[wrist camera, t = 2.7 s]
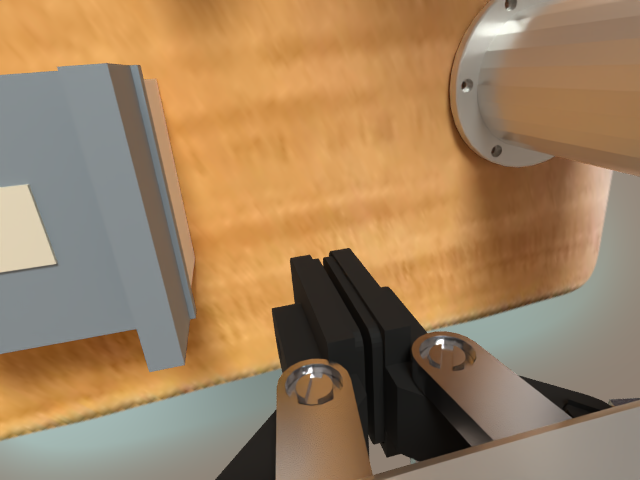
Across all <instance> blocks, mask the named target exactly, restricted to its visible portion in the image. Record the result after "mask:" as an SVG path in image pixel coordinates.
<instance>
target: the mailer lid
mask: <svg viewBox="0 0 640 480" xmlns="http://www.w3.org/2000/svg"><path fill="white" fill-rule="evenodd" d="M57 68H58V71H49V72H36V73H22V74H9V75H0V354H3V353H8V352H14V351H19V350H25V349H30V348H36V347H41V346H47V345H52V344H58V343H63V342H68V341H74V340H79V339H85V338H90V337H96V336H101V335H107V334H112V333H118V332H123V331H129V330H134V329H137V333H138V336H139V339H140V342H141V346H142V349H143V352H144V356H145V359H146V362H147V366H148V369H149V372H152V371H157V370H162V369H167V368H172V367H177V366H182V365H185V358H186V350H187V342H188V333H189V325H190V319H194V318H196V307H195V302H194V298H193V294H192V289H191V285H190V280H189V276H188V272H187V267H186V263H185V259H184V254H183V250H182V245H181V241H180V237H179V232H178V228H177V223H176V219H175V215H174V210H173V206H172V202H171V197H170V193H169V188H168V184H167V180H166V175H165V171H164V166H163V162H162V158H161V153H160V149H159V144H158V140H157V136H156V131H155V127H154V123H153V118H152V114H151V109H150V105H149V101H148V96H147V92H146V87H145V83H144V79H143V74H142V70H141V66H140V65H119V64H109V63H105V64H91V65H77V66H63V67H57Z"/></svg>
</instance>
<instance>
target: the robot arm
mask: <svg viewBox="0 0 640 480" xmlns="http://www.w3.org/2000/svg"><path fill="white" fill-rule="evenodd" d="M462 83H463V87H462V88H461V85H462ZM450 102H451V110H452V114H453V118H454V122H455V125H456V127H457V129H458V131H459V133H460V135H461V137H462V139H463V140H464V141H465V143H466V144H467V145H468V146H469V148H470V149H471V150H473V151H474V152H475V153H476V154H478V155H479V156H480V157H482V158H484V159H486V160H488V161H490V162H492V163H496V164H499V165H503V166H506V167H526V166H533V165H536V164H539V163H542V162H545V161H547V160H549V159H551V158H553V157H555V156H557V157H561V158H565V159H569V160H573V161H577V162H581V163H586V164H590V165H594V166H598V167H602V168H606V169H610V170H614V171H618V172H622V173H626V174H631V175H635V176H639V177H640V0H490V1H489V2H488V3H487V4H486V5H485V6H484V7H483V8H482V10H481V11H480V12H479V13H478V14H477V15H476V17H475V18H474V19H473V21H472V22H471V24H470V26H469V27H468V29H467V31H466V32H465V34H464V36H463V38H462V40H461V43H460V45H459V48H458V50H457V52H456V56H455V60H454V64H453V68H452V72H451V81H450ZM290 265H291V274H292V283H293V291H294V300H295V304H292V305H287V306H282V307H277V308H272V315H273V322H274V329H275V336H276V342H277V348H278V354H279V359H280V364H281V368H282V372H283V374H282V375H281V377H280V378H279V380H278V385H277V409H276V410H275V412H274V413H273V414H272V415H271V416H270V417H269V418H268V420H267V421H266V422H265V423H264V424H263V425H262V427H261V428H260V429H259V430H258V431H257V432H256V433H255V435H254V436H253V437H252V438H251V439H250V440H249V441H248V443H247V444H246V445H245V446H244V447H243V448H242V450H241V451H240V452H239V453H238V454H237V455H236V456H235V458H234V459H233V460H232V461H231V462H230V463H229V465H228V466H227V467H226V468H225V469H224V470H223V471H222V473H221V474H220V475H219V476H218V477H217V479H215V480H640V398H630V399H611V400H609V402H608V404H607V403H605V402H603V401H602V400H599V399H596V398H594V397H591V396H588V395H585V394H582V393H578V392H575V391H571V390H568V389H564V388H561V387H557V386H554V385H550V384H547V383H543V382H539V381H536V380H532V379H529V378H526V377H522V376H518V375H516V374H515V373H514V372H513V371H511V370H510V369H509V368H508V367H506V366H505V365H504V364H503V363H501V362H500V361H499V360H497V359H496V358H495V357H493V356H492V355H491V354H490V353H488V352H487V351H486V350H484V349H483V348H482V347H481V346H480V345H478V344H477V343H476V342H474V341H473V340H471V339H469V338H468V337H465V336H462V335H460V334H457V333H452V332H431V333H427V332H426V331H425V330H424V328H423V327H422V326H421V325H420V324H419V322H418V321H417V320H416V319H415V318H414V316H413V315H412V314H411V313H410V312H409V310H408V309H407V308H406V307H405V306H404V304H403V303H402V302H401V301H400V300H399V298H398V297H397V296H396V295H395V294H394V292H393V291H392V290H391V289H390V288H389V287H386V286H385V287H380V286H379V285H378V283H377V282H376V281H375V280H374V278H373V277H372V276H371V275H370V273H369V272H368V271H367V269H366V268H365V267H364V266H363V264H362V263H361V262H360V261H359V259H358V258H357V257H356V256H355V254H354V253H353V252H352V250H351V249H350V248H347V249H341V250H335V251H330V253H329V257H324V258H323V265H322V264H321V262H320V260H319V259H312V257H311V256H310V255H306V256H300V257H294V258H290ZM368 435H369V437H370V439H371V441H372V443H373V444H378V443H380V444H381V446H382V448H383V450H384V453H385V455H386V457H390V456H394V455H398V454H403V455H405V456H407V457H410V462H411V464H410V465H407V466H404V467H400V468H396V469H393V470H390V471H386V472H383V473H379V474H376V475H373V474H372V470H371V466H370V461H369V442H368Z"/></svg>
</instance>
